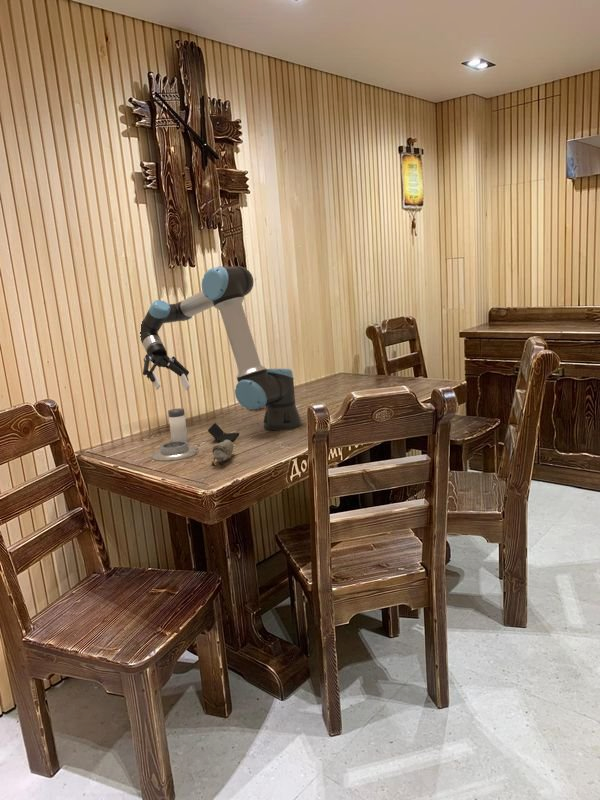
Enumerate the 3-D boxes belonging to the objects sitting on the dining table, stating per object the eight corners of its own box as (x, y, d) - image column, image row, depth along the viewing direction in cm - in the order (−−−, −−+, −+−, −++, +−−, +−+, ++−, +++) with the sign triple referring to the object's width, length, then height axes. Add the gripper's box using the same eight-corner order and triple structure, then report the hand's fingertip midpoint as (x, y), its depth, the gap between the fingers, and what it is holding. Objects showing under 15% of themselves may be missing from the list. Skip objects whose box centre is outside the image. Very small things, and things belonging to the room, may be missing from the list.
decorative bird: (238, 454, 204) (236, 433, 203) (225, 469, 189) (222, 446, 187) (223, 454, 205) (220, 433, 204) (208, 470, 190) (206, 447, 188)
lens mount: (207, 448, 214) (206, 439, 213) (180, 462, 200) (178, 452, 199) (171, 446, 221) (169, 437, 220) (142, 459, 207) (141, 450, 206)
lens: (190, 439, 230) (187, 408, 228) (181, 443, 225) (177, 412, 223) (178, 438, 233) (174, 408, 231) (168, 442, 228) (164, 411, 225)
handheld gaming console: (238, 437, 220) (219, 417, 220) (224, 450, 220) (205, 431, 220) (240, 434, 232) (222, 415, 231) (227, 447, 232) (209, 428, 231)
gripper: (177, 356, 257) (195, 394, 248) (123, 353, 240) (141, 393, 230) (184, 344, 253) (203, 382, 244) (131, 340, 236) (149, 380, 226)
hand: (173, 387), depth 237 cm, fingers open, 13 cm apart
